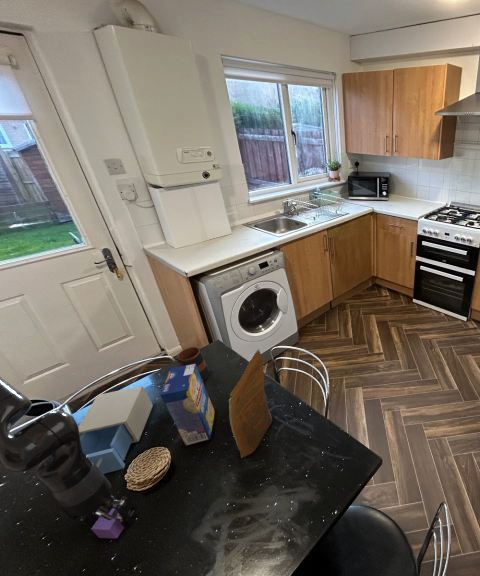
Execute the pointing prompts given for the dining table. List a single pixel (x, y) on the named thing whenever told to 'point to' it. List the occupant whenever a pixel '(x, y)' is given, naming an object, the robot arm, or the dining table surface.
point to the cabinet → (119, 411)
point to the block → (107, 527)
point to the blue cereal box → (188, 403)
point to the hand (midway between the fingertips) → (113, 524)
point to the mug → (193, 360)
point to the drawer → (107, 447)
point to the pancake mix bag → (249, 407)
